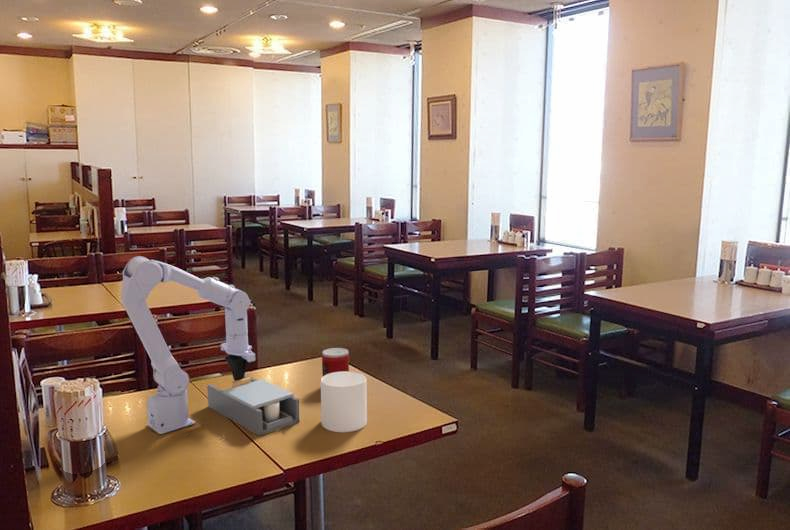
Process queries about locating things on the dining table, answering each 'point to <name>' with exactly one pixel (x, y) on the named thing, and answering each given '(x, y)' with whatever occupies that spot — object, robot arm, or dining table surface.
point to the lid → (256, 392)
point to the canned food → (335, 360)
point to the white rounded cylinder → (271, 412)
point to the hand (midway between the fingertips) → (238, 381)
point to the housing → (252, 411)
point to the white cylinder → (343, 401)
